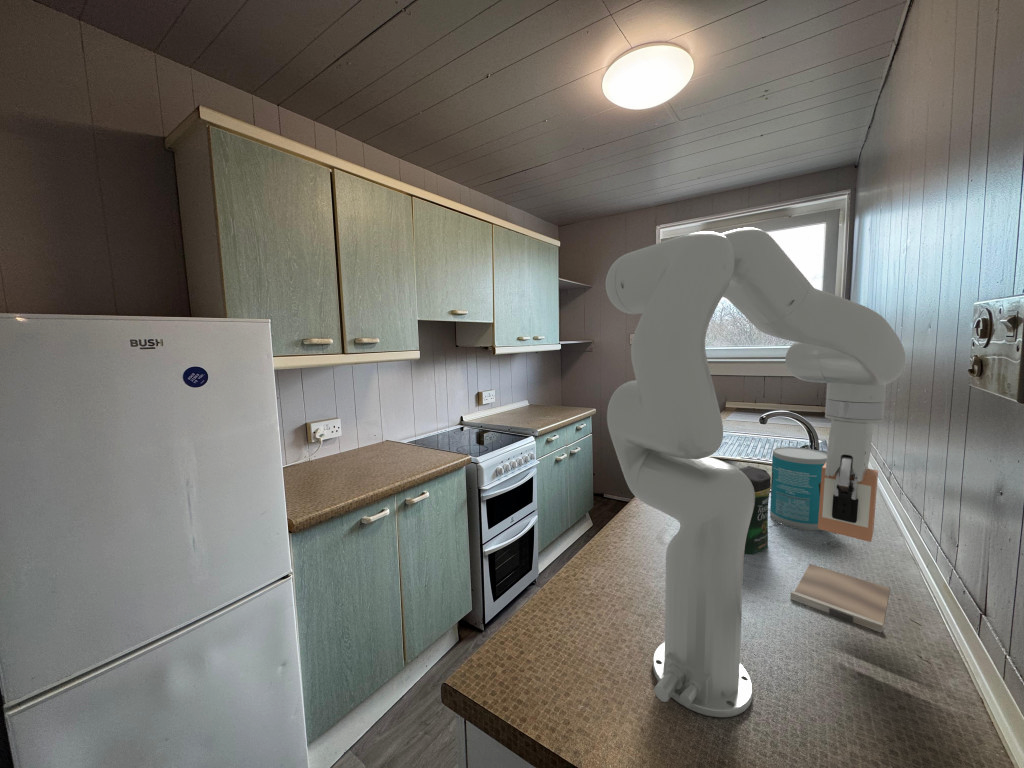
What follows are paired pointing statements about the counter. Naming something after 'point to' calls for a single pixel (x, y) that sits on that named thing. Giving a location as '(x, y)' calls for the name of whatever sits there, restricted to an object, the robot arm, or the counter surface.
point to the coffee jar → (758, 510)
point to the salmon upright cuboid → (865, 507)
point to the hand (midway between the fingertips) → (846, 514)
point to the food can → (796, 486)
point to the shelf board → (843, 596)
